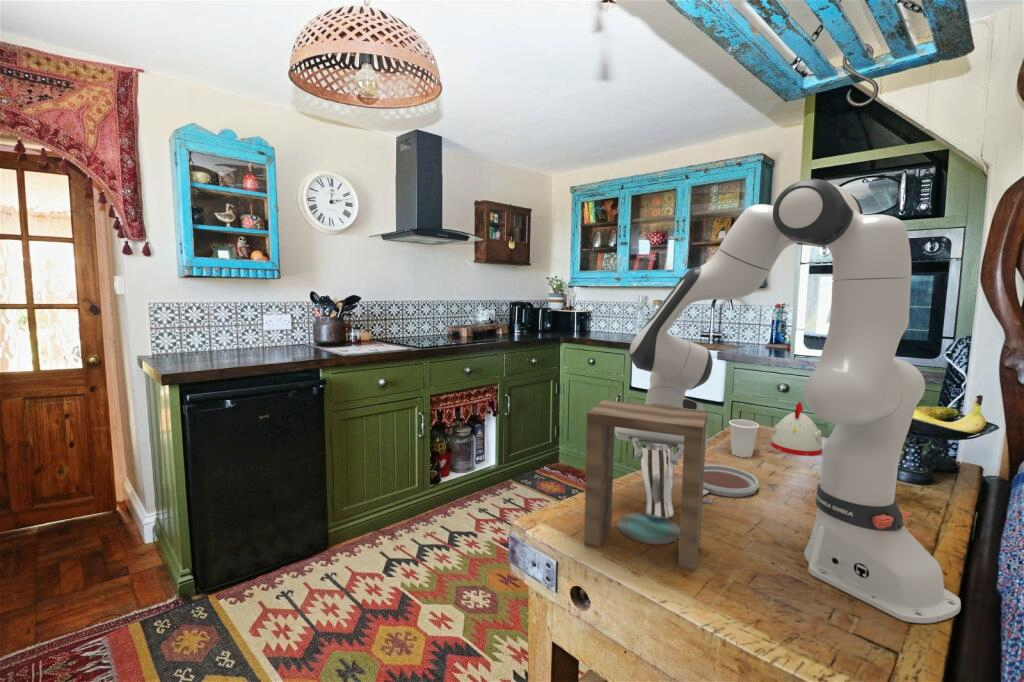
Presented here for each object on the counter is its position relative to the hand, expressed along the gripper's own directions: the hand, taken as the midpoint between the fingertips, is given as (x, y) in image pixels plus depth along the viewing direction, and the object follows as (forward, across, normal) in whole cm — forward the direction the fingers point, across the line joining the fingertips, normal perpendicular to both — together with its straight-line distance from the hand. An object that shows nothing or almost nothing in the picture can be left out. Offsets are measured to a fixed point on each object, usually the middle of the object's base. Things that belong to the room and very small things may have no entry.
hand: (655, 460), depth 106 cm
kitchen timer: (-38, +33, +58) cm, 77 cm away
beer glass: (+8, +1, +9) cm, 12 cm away
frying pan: (-6, +11, +25) cm, 28 cm away
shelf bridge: (+15, 0, +4) cm, 16 cm away
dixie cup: (-28, +17, +48) cm, 58 cm away
